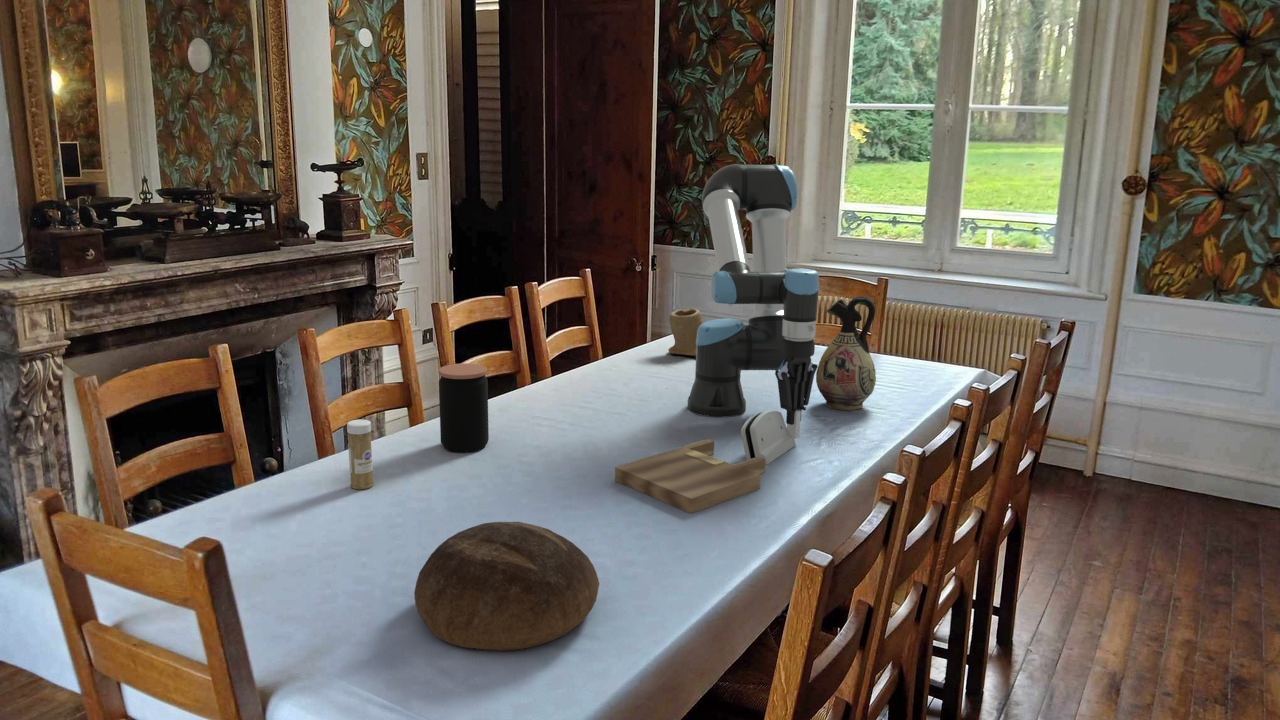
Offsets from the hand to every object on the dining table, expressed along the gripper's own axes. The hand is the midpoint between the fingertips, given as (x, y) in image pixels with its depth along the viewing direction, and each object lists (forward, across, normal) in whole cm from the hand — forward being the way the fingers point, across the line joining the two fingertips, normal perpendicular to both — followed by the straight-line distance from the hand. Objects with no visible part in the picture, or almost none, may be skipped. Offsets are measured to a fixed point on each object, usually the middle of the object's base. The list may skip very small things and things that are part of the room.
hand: (792, 436), depth 222 cm
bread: (+2, -96, -21) cm, 98 cm away
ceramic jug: (+2, +35, +10) cm, 37 cm away
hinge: (+2, -9, 0) cm, 9 cm away
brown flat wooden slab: (+2, -34, -2) cm, 34 cm away
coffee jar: (+2, -59, +47) cm, 75 cm away
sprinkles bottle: (+2, -88, +39) cm, 97 cm away
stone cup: (+2, +44, +76) cm, 88 cm away
